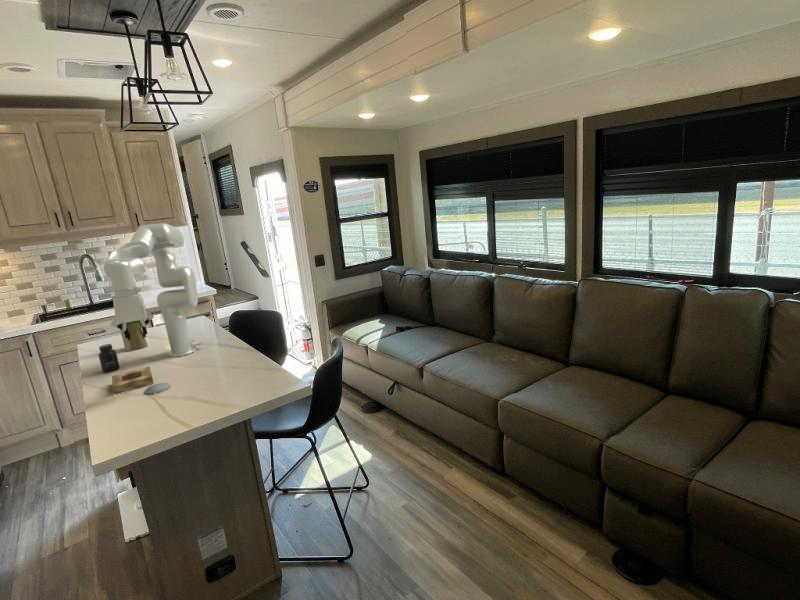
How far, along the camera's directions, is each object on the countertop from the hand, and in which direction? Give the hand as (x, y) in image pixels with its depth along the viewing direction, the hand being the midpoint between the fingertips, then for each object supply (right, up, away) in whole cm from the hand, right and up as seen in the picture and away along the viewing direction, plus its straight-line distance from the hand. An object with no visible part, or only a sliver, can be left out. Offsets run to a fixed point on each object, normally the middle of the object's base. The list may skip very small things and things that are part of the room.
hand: (137, 337), depth 167 cm
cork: (0, -4, +1) cm, 4 cm away
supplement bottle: (-30, -18, +29) cm, 45 cm away
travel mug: (-37, -11, +57) cm, 69 cm away
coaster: (+6, -21, +3) cm, 22 cm away
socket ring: (-8, -20, +11) cm, 25 cm away
